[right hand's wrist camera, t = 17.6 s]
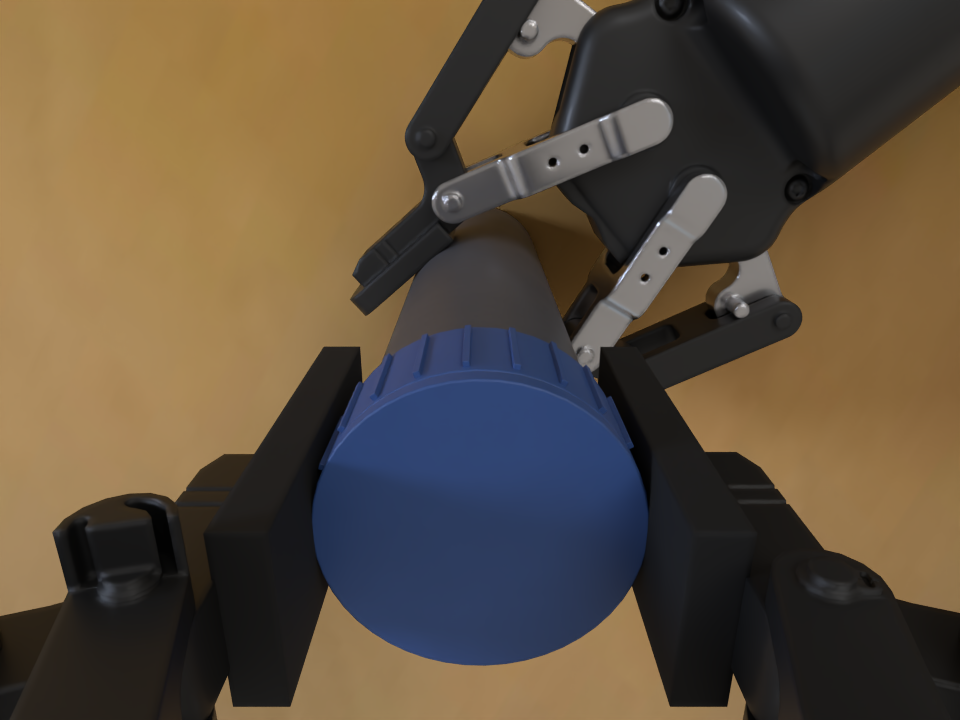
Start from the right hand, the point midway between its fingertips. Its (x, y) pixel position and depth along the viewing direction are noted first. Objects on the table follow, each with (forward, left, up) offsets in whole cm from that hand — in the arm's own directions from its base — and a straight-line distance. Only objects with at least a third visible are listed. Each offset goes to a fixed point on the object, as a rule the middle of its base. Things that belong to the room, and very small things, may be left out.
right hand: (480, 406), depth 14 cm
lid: (0, 0, +4) cm, 4 cm away
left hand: (-2, +2, -8) cm, 8 cm away
